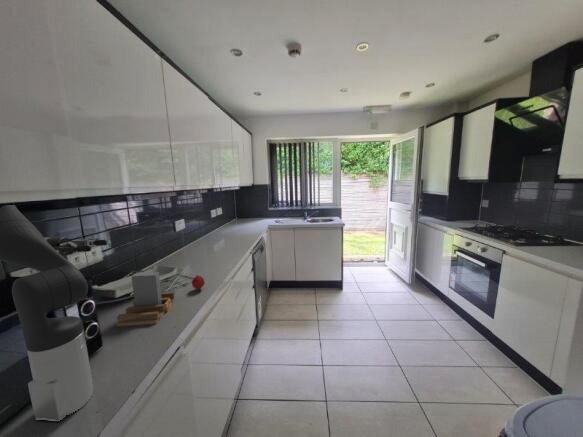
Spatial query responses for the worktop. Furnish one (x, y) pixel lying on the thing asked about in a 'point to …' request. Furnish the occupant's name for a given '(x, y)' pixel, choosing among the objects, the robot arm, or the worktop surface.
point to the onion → (198, 282)
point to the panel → (146, 289)
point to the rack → (146, 312)
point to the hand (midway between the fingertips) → (98, 245)
